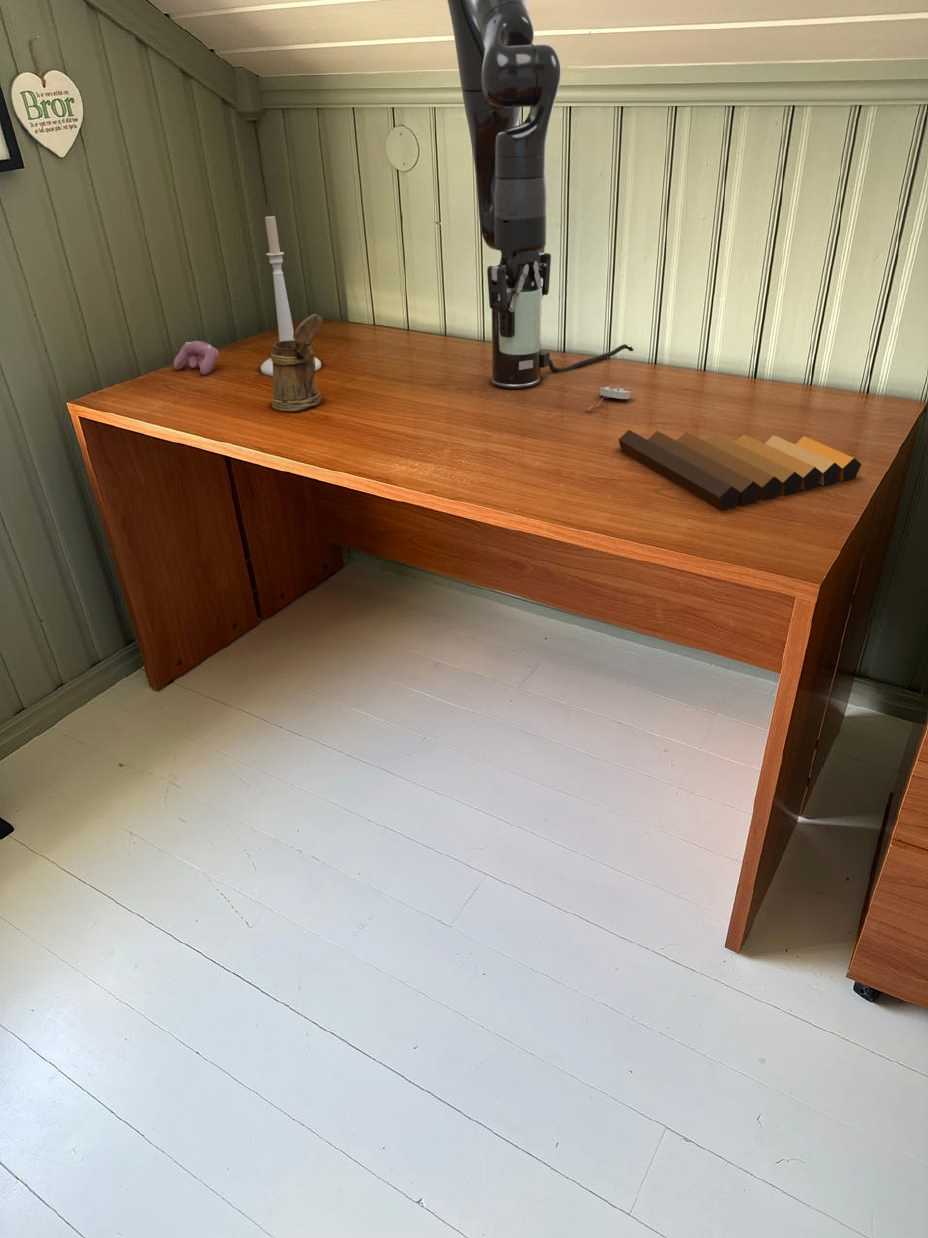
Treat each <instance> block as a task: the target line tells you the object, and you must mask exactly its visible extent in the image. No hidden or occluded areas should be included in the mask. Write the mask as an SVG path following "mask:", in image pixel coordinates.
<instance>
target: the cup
mask: <svg viewBox="0 0 928 1238" xmlns="http://www.w3.org/2000/svg"><path fill="white" fill-rule="evenodd" d="M507 288H508V289H513V288H509V287H508V286H507ZM498 296H499V293H498ZM509 299H510V295H508V294H507V302H508V303H509ZM542 302H543V298H542V288H541V287H540V286H539V287H538V288H537V289H536V290H535V291H533V290H528V289H526V291H525V290H524V289H523V288H522V292H521V293H520V294H519V296H517V297H516V304H515V308H514V311H513V312H515V335H514V336H513V337H511V338H507V337H502V336H501V335H500V323H499V350H500V351H501V352H502V353H506V354H511V355H526V354H532V353H536V352H538V351H540V349H541V350H542Z"/></svg>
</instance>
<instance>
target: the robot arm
mask: <svg viewBox="0 0 928 1238" xmlns="http://www.w3.org/2000/svg"><path fill="white" fill-rule="evenodd" d="M446 1H447V6H448V10H449V16H450V21H451V27H452V32H453V37H454V42H455V43H454V44H455V51H456V58H457V64H458V72H459V79H460V86H461V93H462V99H463V105H464V111H465V115H466V116H465V117H466V120H467V125H468V128H469V129H468V130H469V137H470V143H471V151H472V156H473V163H474V172H475V183H476V195H477V208H478V218H479V225H480V230H481V235H482V238H483V241H484V242H485V244H486V246H487V247H488V248H489V249H492V250H494V251H500V253H501V254H500V255H501V256H500V260H499V264H497V265H488V267H487V268H486V273H487V275H486V276H487V288H488V290H487V291H488V302H489V309H491V366H492V367H491V368H492V372H491V373H492V375H491V376H492V377H491V384H492V385H493V386H497V387H499V388H502V389H526V388H531V387H534V386H537V385H538V384H540V379H541V371H542V370H541V369H542V368H546V367H549V369H550V371H552V372H554V373H561V372H562V373H563V372H568V371H572V370H575V369H578V368H580V367H582V366H585V365H588V364H592V363H595V362H598V361H601V360H604V359H606V358H610V357H612V356H615V355H616V354H618V353H620V352H621V351H623V350H625V349H626V350H627V351H629V352H634V351H635V350H634V348H633V347H632V346H631V347H628V346H627V345H626V344H627V343H625V344H621V345H619V346H618V347H616V348H614V349H613V350H611V351H608V352H606V353H601V354H600V355H597V356H594V357H590V358H587V359H584V360H580V361H578V362H576V363H573V364H572V365H569V366H566V367H561V368H560V367H557V366H554V364H553V361H552V359H550V356H551V355H550V351H545V350H544V351H542V348H541V349H540V351H538V352H536V353H532V354H526V355H511V354H506V353H502V352H501V351H500V350H499V323H500V335H501V336H502V337H507V338H511V337H513V336H514V335H515V312H513V311H514V308H515V304H516V297H517V296H519V294H520V293H521V292H522V288H523V289H524V290H525V291H526V289H528V290H533V291H535V290H536V289H537V288H538V287H539V286H540V287H541V288H542V299H543V298H544V296H547V295H548V294H549V292H550V280H551V279H550V278H551V265H552V264H551V263H552V255H551V253H549V252H546V245H547V206H548V205H547V204H548V203H547V202H548V201H547V200H548V193H547V183H546V181H547V180H546V166H547V165H546V159H547V158H546V157H547V155H546V153H547V141H548V140H547V139H548V134H549V130H550V129H549V128H550V123H551V119H552V115H553V112H554V111H553V110H554V107H555V106H554V105H555V103H556V99H557V96H558V92H559V88H560V83H561V77H562V67H561V61H560V58H559V55H558V53H557V51H556V50H555V48H554V47H552V46H551V45H550V44H547V43H534V39H535V31H534V24H533V22H532V17H531V15H530V12H529V9H528V7H527V3H526V0H475V2H474V0H446ZM529 107H530V108H529ZM522 108H529V112H528V115H527V116H526V118H525V120H524V121H523V122H522V123H521V124H519V121H520V118H521V112H522ZM507 286H508V287H509V288H513V289H508V288H507ZM498 293H499V296H498ZM507 294H508V295H510V299H509V303H508V302H507Z"/></svg>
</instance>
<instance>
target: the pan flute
mask: <svg viewBox="0 0 928 1238" xmlns="http://www.w3.org/2000/svg"><path fill="white" fill-rule="evenodd" d="M618 442H619V446H620V447H619V448H620V451H621V453H623V454H625V455H627V456H628V457H630V458H632V459H633V460H635V461H637V462H638V463H640V464H641V465H644V466H645V467H647V468H648V469H650V470H652V471H653V472H655V473H657V474H658V475H661V476H662V477H663V478H666V479H667V480H669V481H670V482H672V483H674V484H675V485H677V486H679V487H680V488H683V489H684V490H685V491H687V492H689V493H691V494H693V495H694V496H696V497H698V498H699V499H701V500H702V501H704V502H705V503H708V504H709V505H711V506H713V507H714V508H716V509H718V510H719V511H721V512H722V511H726V510H731V509H735V508H736V506H737V504H739V505H741V506H747V505H752V504H756V503H757V501H758V499H760V500H762V501H768V500H772V499H773V500H774V499H776V498H778V495H779V494H780V495H782V496H784V497H785V496H790V495H793V494H797V493H798V491H799V489H800V490H801V491H804V492H806V491H810V490H813V489H817V488H818V486H819V485H820V486H823V487H827V486H830V485H835V484H837V482H838V480H839V481H841V482H847V481H850V480H851V481H852V480H855V479H856V477H857V475H858V473H859V471H860V468H861V466H862V463H861V461H859V460H857V459H856V458H855V457H854V456H851V455H849V454H847V453H844V452H842V451H840V450H837V449H835V448H832V447H830V446H828V445H826V444H823V443H821V442H819V441H816V440H815V439H811V438H809V437H807V436H802V437H801V438H800V439H799V440H798V441H797V442H796V443H793V442H790V441H788V440H786V439H784V438H781V437H780V436H777V435H775V434H773V435H772V436H771V437H770V438H769V439H767V441H765V443H764V442H762V441H760V440H758V439H756V438H754V437H751V436H750V435H747V434H745V433H743V434H742V435H741V436H739V438H738V439H737V440H736V441H732V440H731V439H728V438H726V437H724V436H722V435H720V434H718V433H716V432H714V433H713V434H711V436H710V437H709V438H707V439H706V440H703V439H702V438H699V437H697V436H695V435H694V434H692V433H689V432H687V431H685V432H683V434H681V436H680V437H679V438H677V440H676V439H674V438H672V437H670V436H668V435H666V434H664V433H662V432H660V431H659V430H656V431H655V432H654V433H653V434H652V435H651V436H650V437H649V438H648V439H647V438H645V437H643V436H641V435H639V434H638V433H636V432H634V431H632V430H631V429H628V430H627V431H626V432H625V433H624V434H623V435H621V437H620V438H619V439H618Z"/></svg>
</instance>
